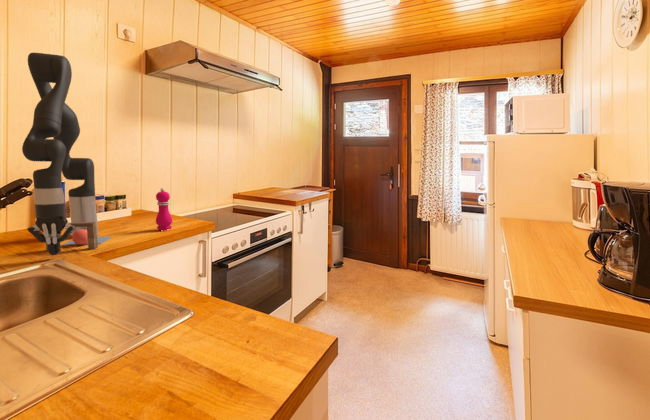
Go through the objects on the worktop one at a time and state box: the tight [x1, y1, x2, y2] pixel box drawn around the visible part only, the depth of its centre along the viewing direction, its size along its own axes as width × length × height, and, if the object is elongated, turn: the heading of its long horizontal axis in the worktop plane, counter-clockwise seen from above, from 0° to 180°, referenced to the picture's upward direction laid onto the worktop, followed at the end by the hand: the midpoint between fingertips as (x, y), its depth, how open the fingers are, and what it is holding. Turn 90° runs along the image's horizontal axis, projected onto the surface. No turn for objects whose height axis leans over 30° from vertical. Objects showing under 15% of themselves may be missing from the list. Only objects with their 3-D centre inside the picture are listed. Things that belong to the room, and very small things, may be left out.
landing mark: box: [62, 236, 112, 246], centre depth 138 cm, size 13×13×1 cm
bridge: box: [45, 222, 99, 252], centre depth 124 cm, size 3×15×10 cm, turn 105°
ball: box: [71, 229, 88, 246], centre depth 131 cm, size 6×6×6 cm
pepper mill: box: [155, 187, 173, 231], centre depth 161 cm, size 7×7×20 cm
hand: (54, 254), depth 112 cm, fingers closed
